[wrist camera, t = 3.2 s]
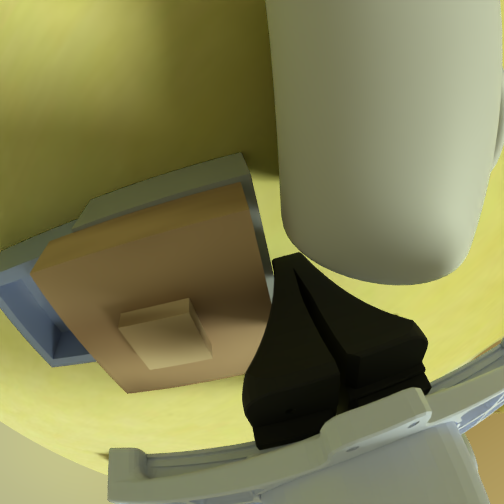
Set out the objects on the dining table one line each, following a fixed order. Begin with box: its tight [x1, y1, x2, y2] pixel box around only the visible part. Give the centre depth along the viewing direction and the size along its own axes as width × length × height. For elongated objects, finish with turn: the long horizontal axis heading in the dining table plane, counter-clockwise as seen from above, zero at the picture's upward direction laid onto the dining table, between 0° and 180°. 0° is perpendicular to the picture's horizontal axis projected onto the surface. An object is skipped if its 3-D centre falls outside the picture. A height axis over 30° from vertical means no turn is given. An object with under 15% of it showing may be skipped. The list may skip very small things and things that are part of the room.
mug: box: [265, 0, 504, 285], centre depth 9 cm, size 12×8×11 cm
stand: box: [72, 152, 274, 304], centre depth 16 cm, size 10×8×3 cm
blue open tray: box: [0, 219, 96, 367], centre depth 16 cm, size 8×8×3 cm
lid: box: [30, 182, 271, 394], centre depth 13 cm, size 9×9×3 cm
